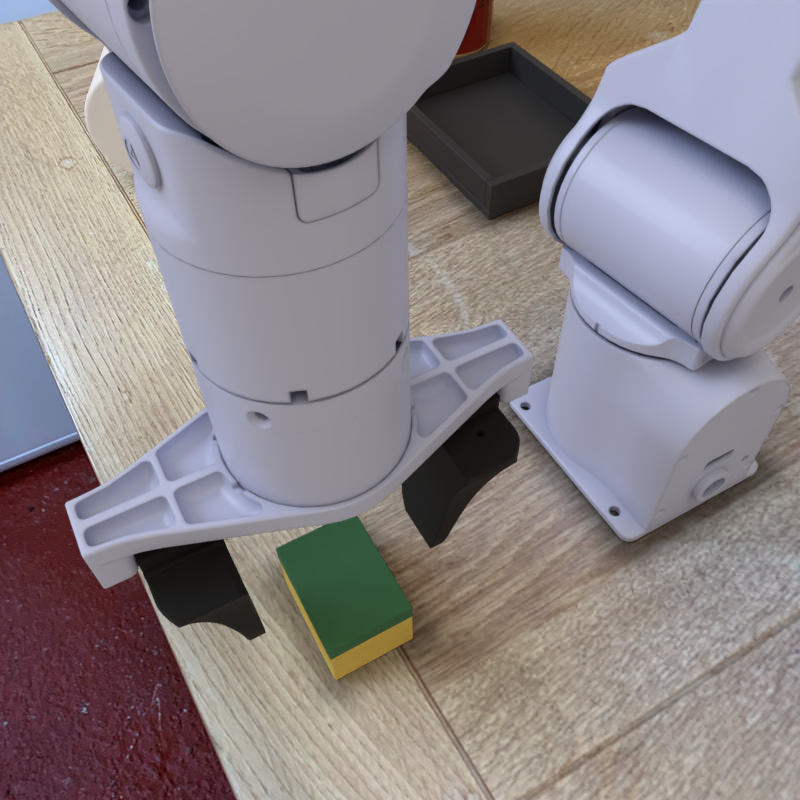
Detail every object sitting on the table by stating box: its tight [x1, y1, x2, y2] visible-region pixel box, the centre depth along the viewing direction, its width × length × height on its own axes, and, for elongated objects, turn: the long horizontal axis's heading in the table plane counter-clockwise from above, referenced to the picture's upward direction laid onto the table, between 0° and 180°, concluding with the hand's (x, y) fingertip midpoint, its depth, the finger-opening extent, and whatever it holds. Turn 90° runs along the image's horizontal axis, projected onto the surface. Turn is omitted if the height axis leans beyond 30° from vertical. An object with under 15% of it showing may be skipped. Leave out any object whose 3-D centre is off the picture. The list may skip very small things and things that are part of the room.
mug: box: [83, 45, 133, 174], centre depth 53 cm, size 12×10×8 cm
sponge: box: [275, 515, 414, 681], centre depth 33 cm, size 5×4×3 cm
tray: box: [406, 41, 593, 220], centre depth 55 cm, size 14×11×2 cm
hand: (339, 568), depth 31 cm, fingers open, 7 cm apart
